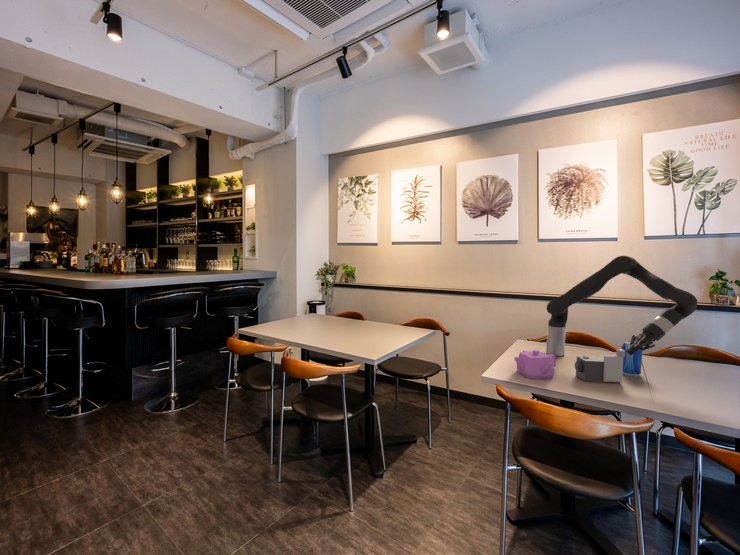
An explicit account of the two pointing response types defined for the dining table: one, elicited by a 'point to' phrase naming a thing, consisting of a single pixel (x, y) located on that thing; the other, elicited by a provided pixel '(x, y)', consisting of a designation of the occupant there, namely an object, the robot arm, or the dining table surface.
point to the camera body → (590, 369)
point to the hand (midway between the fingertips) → (628, 353)
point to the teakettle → (535, 364)
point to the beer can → (631, 361)
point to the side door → (613, 367)
